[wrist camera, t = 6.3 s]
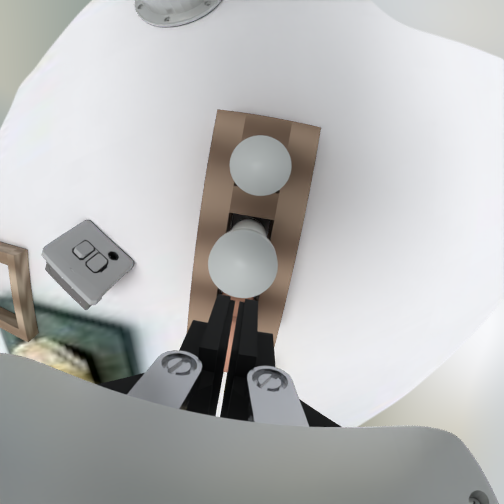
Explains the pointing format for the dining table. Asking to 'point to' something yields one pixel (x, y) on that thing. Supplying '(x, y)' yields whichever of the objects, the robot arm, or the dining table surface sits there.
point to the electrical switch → (85, 263)
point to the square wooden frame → (18, 294)
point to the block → (253, 209)
